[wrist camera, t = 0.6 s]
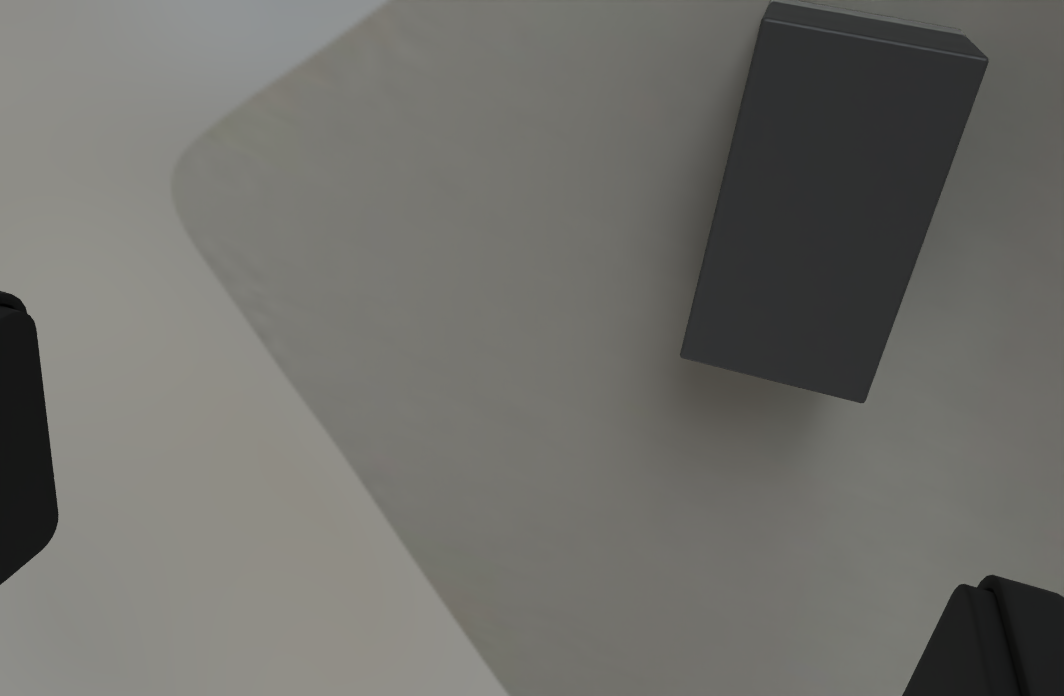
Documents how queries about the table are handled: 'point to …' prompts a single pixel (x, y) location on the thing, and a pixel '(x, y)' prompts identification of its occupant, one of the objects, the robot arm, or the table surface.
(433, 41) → the table surface
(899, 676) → the table surface
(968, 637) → the robot arm
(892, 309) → the eraser
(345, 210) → the table surface
